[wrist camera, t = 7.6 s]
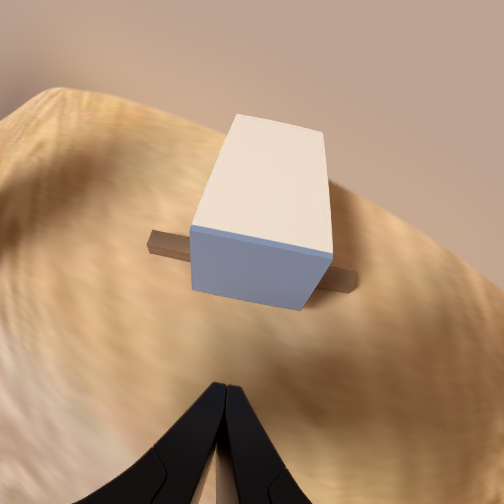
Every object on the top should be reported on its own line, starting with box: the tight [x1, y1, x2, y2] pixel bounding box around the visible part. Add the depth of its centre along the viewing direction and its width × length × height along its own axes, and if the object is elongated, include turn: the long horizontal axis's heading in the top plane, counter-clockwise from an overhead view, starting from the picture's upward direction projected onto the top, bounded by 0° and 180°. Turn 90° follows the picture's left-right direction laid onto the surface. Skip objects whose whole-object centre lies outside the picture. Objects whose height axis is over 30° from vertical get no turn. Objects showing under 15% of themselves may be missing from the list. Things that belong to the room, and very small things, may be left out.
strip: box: [147, 230, 355, 293], centre depth 16 cm, size 1×12×1 cm, turn 80°
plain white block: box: [190, 114, 333, 311], centre depth 16 cm, size 4×6×10 cm
